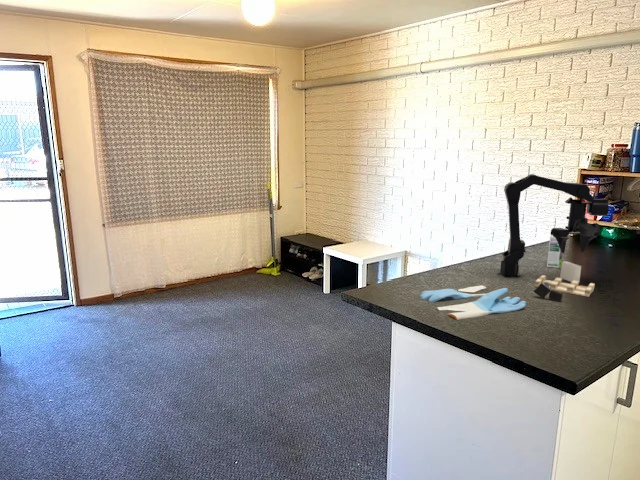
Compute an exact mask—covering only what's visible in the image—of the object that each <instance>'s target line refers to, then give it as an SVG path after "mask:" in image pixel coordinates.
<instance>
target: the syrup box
mask: <svg viewBox="0 0 640 480" xmlns="http://www.w3.org/2000/svg"><path fill="white" fill-rule="evenodd" d="M548 242H549V243H548V253H547V261H546V267H548V268H555V269H556V268H557V269H561V266H562V259H563V253H562V252H561V250H560V247H559V244H558V242H557V240H556V238H555V237H553V235H550V234H549V241H548Z"/></svg>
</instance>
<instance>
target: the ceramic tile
mask: <svg viewBox="0 0 640 480" xmlns="http://www.w3.org/2000/svg"><path fill="white" fill-rule="evenodd" d="M560 269H561V270H560V275H559V278H562V280H565V281H568V282H570V283H571V282H572V281H573V280H576V281H579V283H581V282H580V280H581V272H582V265H579V264H576V263H573V262H570V261H561V268H560Z"/></svg>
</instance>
